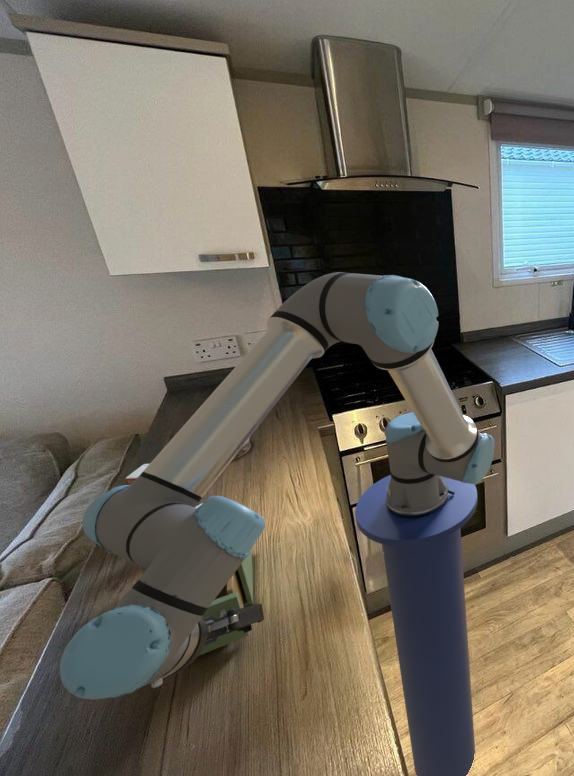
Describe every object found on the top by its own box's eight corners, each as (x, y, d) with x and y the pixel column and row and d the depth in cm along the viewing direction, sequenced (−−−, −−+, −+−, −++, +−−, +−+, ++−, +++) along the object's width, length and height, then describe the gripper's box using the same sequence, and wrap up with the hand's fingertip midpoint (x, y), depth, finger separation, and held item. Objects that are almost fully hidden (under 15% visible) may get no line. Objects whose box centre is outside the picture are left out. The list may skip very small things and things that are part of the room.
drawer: (248, 659, 71) (236, 619, 68) (167, 694, 66) (149, 652, 63) (248, 585, 85) (237, 549, 82) (180, 609, 79) (167, 572, 76)
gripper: (23, 737, 45) (110, 702, 63) (277, 631, 57) (290, 627, 75) (23, 659, 48) (107, 647, 65) (267, 573, 59) (282, 582, 77)
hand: (204, 636), depth 70 cm, fingers closed on drawer, 10 cm apart
